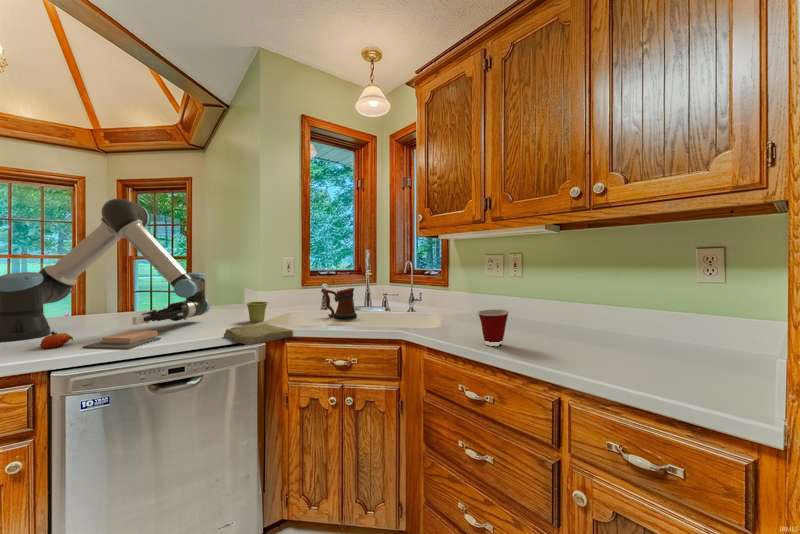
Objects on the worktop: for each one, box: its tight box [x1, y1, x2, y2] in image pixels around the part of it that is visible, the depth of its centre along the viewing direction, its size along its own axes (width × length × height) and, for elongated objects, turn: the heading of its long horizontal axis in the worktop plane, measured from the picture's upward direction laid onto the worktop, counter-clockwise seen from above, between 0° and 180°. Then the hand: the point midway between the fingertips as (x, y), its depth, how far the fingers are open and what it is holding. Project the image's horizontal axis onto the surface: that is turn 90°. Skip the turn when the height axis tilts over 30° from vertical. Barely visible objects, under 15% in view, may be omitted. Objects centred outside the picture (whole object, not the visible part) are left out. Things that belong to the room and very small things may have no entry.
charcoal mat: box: [82, 337, 162, 350], centre depth 121 cm, size 16×14×1 cm
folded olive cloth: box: [223, 323, 294, 346], centre depth 133 cm, size 19×20×4 cm
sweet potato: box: [39, 330, 74, 350], centre depth 117 cm, size 8×7×7 cm
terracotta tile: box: [101, 329, 159, 344], centre depth 124 cm, size 10×2×12 cm
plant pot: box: [245, 301, 269, 323], centre depth 164 cm, size 9×9×9 cm
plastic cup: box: [477, 308, 510, 342], centre depth 123 cm, size 11×11×12 cm
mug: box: [320, 287, 358, 320], centre depth 176 cm, size 18×12×15 cm, turn 85°
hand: (134, 320), depth 125 cm, fingers closed
